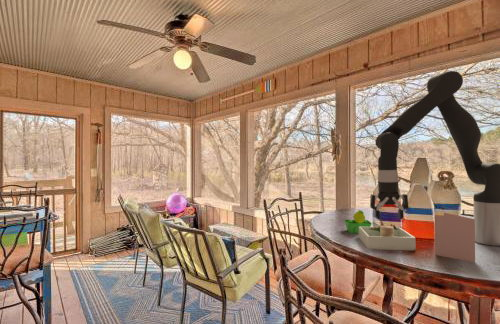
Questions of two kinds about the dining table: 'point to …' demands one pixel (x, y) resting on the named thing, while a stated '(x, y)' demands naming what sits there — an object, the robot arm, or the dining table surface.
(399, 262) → the dining table surface
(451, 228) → the greeting card
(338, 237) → the dining table surface
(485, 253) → the dining table surface
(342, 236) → the dining table surface
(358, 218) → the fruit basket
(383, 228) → the maple cylinder
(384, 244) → the tray
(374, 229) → the green branched piece
